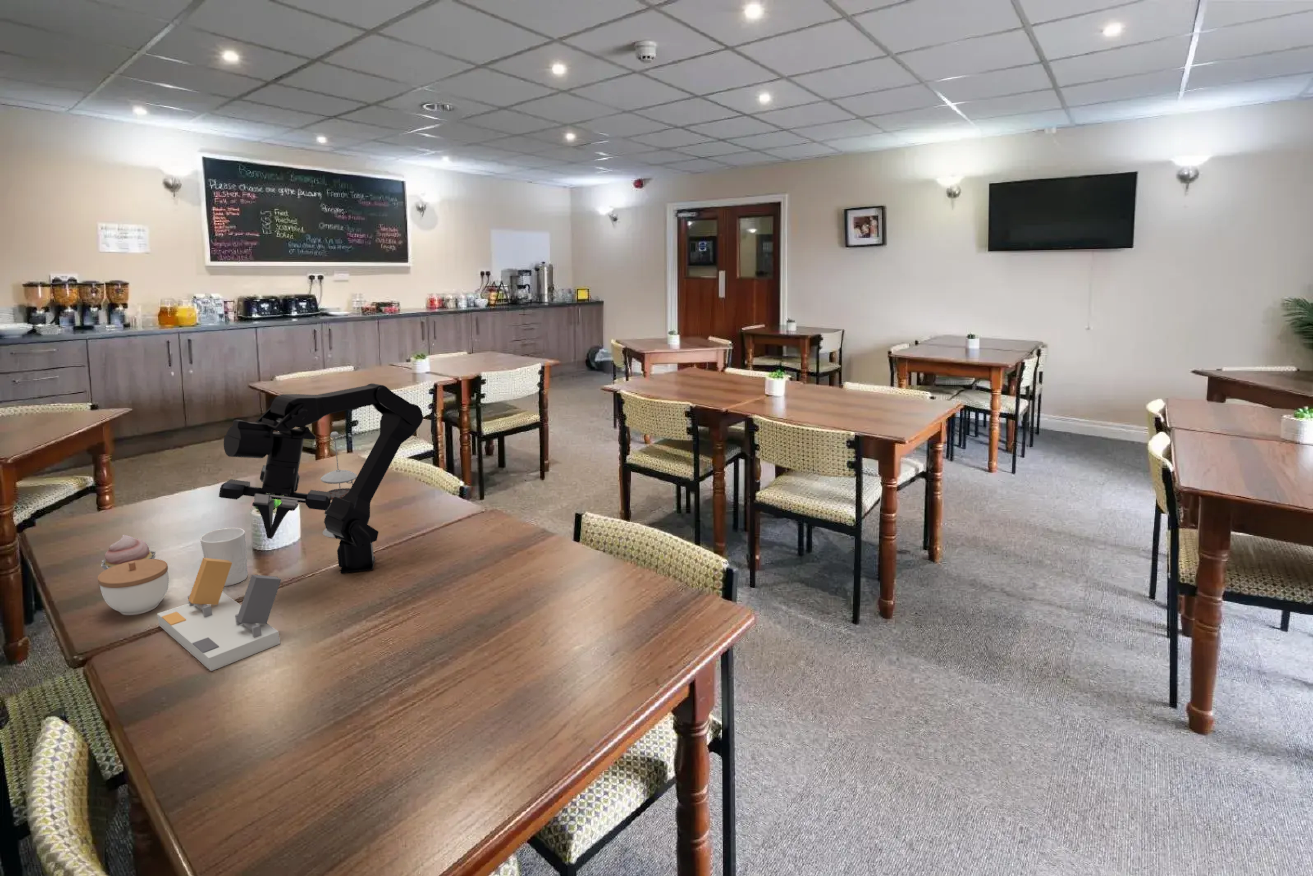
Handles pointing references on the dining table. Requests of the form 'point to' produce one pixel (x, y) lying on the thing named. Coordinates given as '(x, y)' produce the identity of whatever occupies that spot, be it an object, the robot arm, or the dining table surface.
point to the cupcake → (126, 552)
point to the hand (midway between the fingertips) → (269, 538)
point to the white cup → (227, 551)
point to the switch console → (216, 632)
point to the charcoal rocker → (258, 600)
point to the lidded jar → (135, 585)
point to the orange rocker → (209, 582)
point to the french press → (337, 482)
